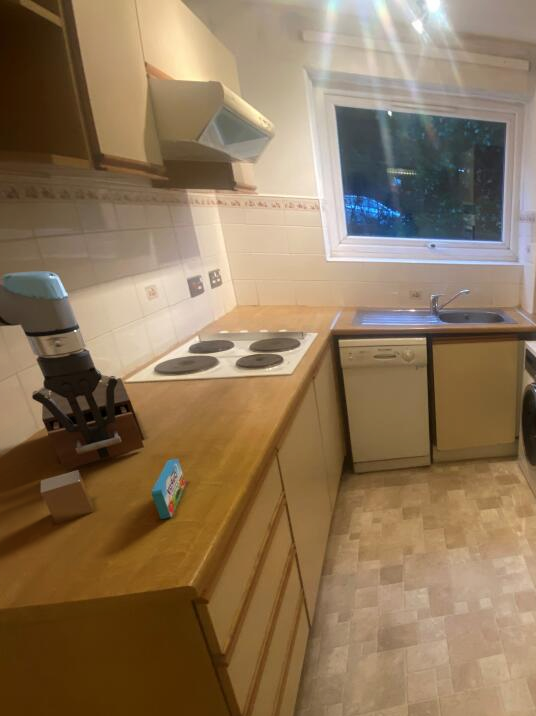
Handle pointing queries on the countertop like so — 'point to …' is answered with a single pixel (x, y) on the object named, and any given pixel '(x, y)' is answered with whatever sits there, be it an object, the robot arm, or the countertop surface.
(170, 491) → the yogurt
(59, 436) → the drawer
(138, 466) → the countertop surface
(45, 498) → the block
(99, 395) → the cabinet
